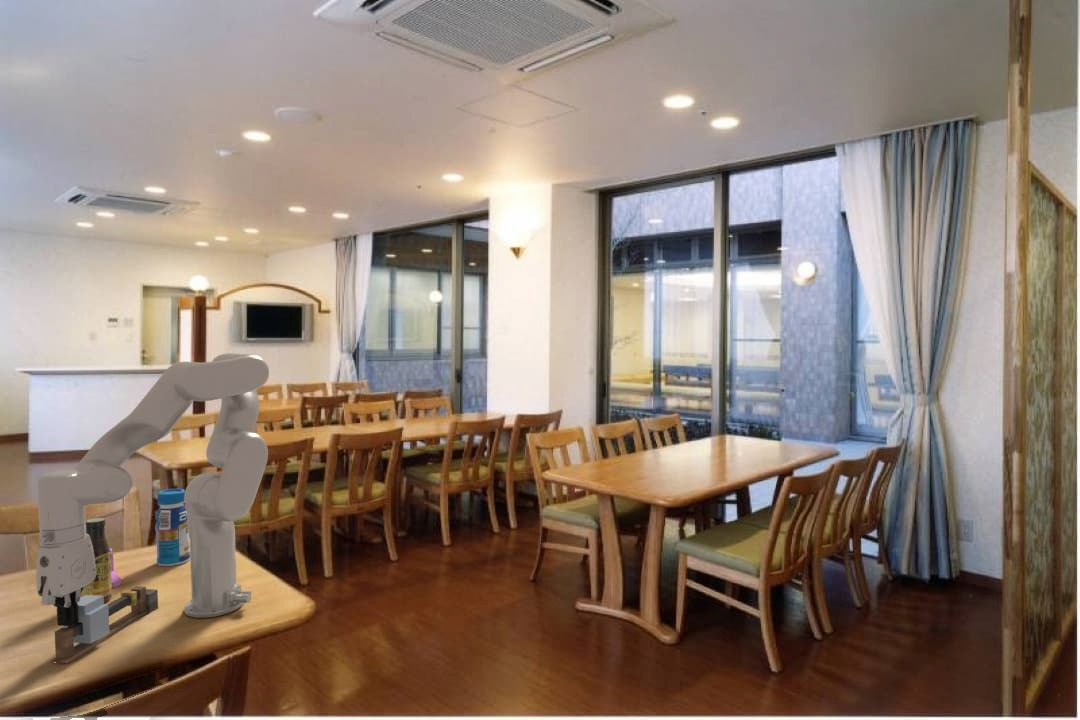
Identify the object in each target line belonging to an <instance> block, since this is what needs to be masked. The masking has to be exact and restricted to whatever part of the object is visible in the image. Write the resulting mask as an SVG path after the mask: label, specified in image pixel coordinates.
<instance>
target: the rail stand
mask: <svg viewBox="0 0 1080 720" xmlns="http://www.w3.org/2000/svg"><path fill="white" fill-rule="evenodd" d="M146 587H147V586H140V585H137V586H134V587H132V588H131V589H130V590H123V591H121V592H120V597H118V598H116V599H114V600H112V601H110V602H109V603H107V604H108V609H109V617H111V616H113V615H114V614H116V613H118V612H119V611H121V610H123V609H125V608H126V607H130V610H131V611H130V612H128V613H127V614H125V615H124V616H122V617H120V618H119V619H117V620H115V621H114V622H112V623H109V633H108V634H106V635H104V636H103V637H101V638H99V639H98V640H96V641H95V642H93V643H91V644H88V643H76V645H75V643H74V637H75V636H77V635H79V634H80V633H82V632H83V623H81V622H78V623H76V624H74V625H72V626H68V627H66V628H63V627H61V628H59V629H57V630H54V646H55V650H54V651H55V652H54V653H55V657H54V658H53V659H52V663H53V662H56V663H66V664H65V665H68V664H70V663H71V662H73V661H74V660H76V659H78V658H79V657H81V656H82V655H83V654H85V653H87V652H89V651H90V650H92V649H93V648H95V647H96V646H98V645H100V644H101V643H103V642H104V641H106V640H107V639H109V638H110V637H112V636H114V635H116V634H118V632H120V631H122V630H124V629H125V628H127V627H128V626H130V625H131V624H132V623H135V622H137V620H139V619H141V618H142V617H144V616H145V615H148V614H151V613H152V612H155V611H157V609H159V598H158V597H159V596H158V592H159V591H158V589H152V588H151V589H149V588H146ZM69 662H70V663H69ZM67 663H68V664H67Z"/></svg>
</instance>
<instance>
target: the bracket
mask: <svg viewBox="0 0 1080 720" xmlns="http://www.w3.org/2000/svg"><path fill="white" fill-rule="evenodd" d="M109 549H110V551H111V589H112V588H115V587H118V586H120V584H121V582H122V581H121V576H119V574H117V573H116V572H115V569H114V568H115V567H114V553H113V549H112V548H110V547H109Z"/></svg>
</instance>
